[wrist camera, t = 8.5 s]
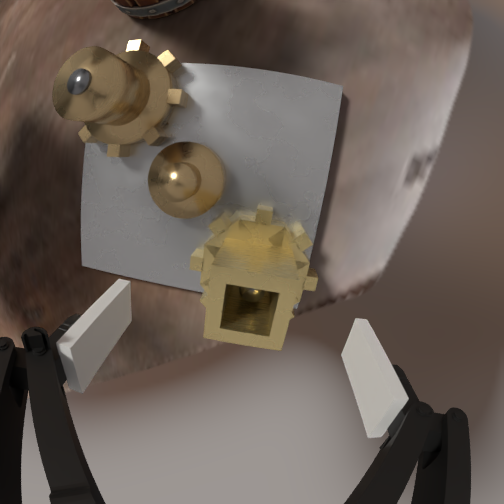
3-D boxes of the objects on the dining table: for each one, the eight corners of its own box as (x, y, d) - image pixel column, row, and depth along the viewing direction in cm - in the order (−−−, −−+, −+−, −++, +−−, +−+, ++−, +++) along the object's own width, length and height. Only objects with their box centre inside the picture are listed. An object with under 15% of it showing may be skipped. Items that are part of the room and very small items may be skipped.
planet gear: (191, 306, 27) (165, 358, 19) (202, 195, 24) (172, 214, 16) (299, 325, 27) (308, 382, 19) (327, 217, 24) (353, 246, 16)
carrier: (83, 260, 27) (26, 299, 18) (103, 55, 21) (44, 27, 11) (296, 302, 27) (306, 367, 18) (342, 72, 21) (379, 31, 11)
